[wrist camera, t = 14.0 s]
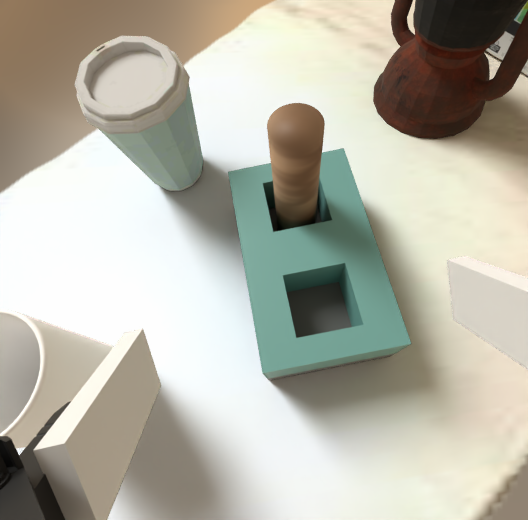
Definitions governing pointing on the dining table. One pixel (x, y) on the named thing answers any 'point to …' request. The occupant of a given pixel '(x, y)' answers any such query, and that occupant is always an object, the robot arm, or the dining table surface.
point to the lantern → (447, 64)
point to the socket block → (315, 276)
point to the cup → (40, 372)
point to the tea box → (509, 38)
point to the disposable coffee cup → (143, 107)
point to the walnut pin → (295, 162)
